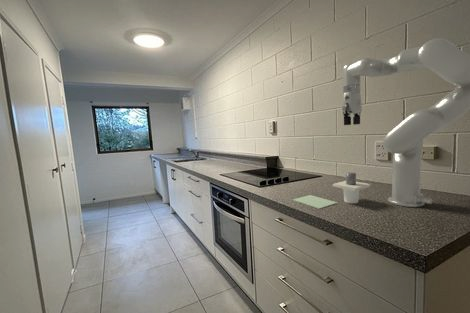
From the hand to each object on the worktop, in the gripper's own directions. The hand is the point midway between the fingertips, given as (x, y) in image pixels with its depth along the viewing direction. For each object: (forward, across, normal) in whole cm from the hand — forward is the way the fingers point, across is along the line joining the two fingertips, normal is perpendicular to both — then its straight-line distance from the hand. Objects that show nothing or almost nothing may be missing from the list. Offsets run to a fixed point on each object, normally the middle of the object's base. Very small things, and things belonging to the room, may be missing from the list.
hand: (352, 124), depth 111 cm
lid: (+28, -14, -6) cm, 32 cm away
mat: (+35, -26, +6) cm, 44 cm away
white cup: (+35, -14, -6) cm, 39 cm away
